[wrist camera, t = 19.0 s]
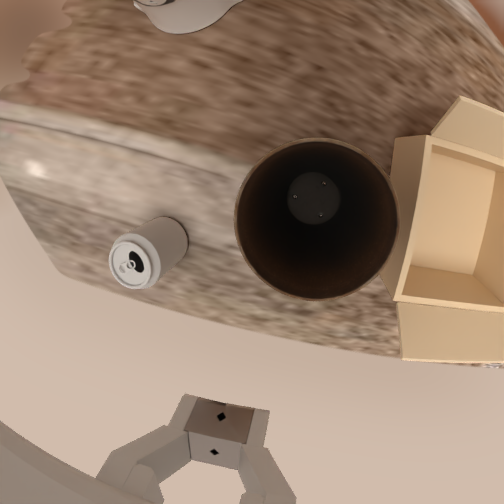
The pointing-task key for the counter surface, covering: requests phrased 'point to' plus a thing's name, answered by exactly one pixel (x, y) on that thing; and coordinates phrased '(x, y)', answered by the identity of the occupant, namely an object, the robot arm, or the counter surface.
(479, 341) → the flap
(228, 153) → the counter surface
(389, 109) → the counter surface
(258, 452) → the robot arm
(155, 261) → the can
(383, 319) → the counter surface
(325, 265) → the plant pot
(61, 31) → the counter surface
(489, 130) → the flap
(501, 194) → the carton
